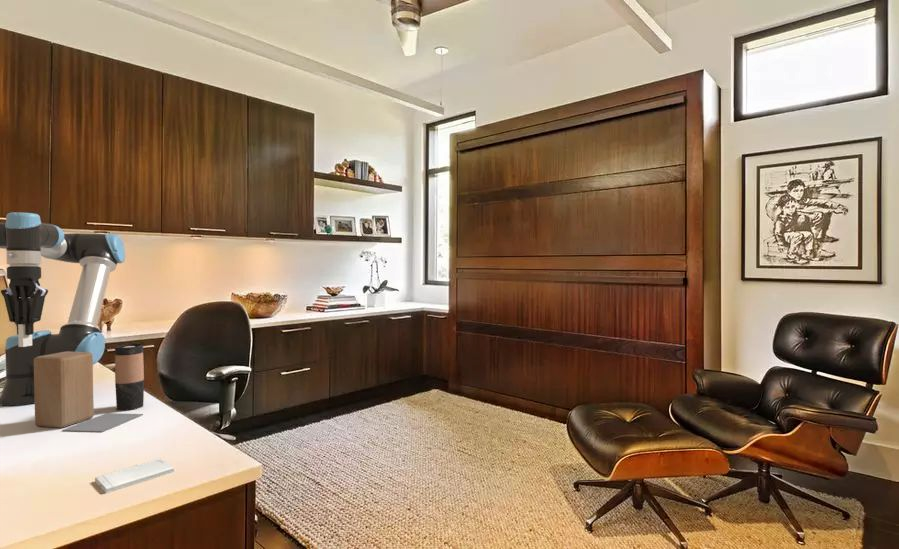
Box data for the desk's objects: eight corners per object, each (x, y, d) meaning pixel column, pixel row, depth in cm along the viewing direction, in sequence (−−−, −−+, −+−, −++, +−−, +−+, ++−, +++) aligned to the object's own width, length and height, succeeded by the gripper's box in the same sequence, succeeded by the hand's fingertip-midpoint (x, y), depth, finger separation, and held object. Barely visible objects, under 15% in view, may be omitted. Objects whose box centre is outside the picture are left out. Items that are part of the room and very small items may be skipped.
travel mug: (150, 405, 153) (148, 344, 153) (127, 412, 146) (126, 348, 146) (133, 403, 156) (132, 343, 156) (109, 409, 149) (108, 347, 148)
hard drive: (160, 457, 108) (94, 476, 99) (174, 467, 103) (106, 488, 93) (160, 465, 108) (95, 484, 99) (174, 475, 103) (106, 496, 93)
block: (61, 429, 131) (60, 358, 131) (33, 427, 133) (31, 356, 133) (95, 417, 141) (94, 351, 140) (68, 416, 143) (67, 350, 142)
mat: (62, 431, 129) (62, 430, 129) (106, 414, 144) (106, 413, 144) (102, 432, 128) (102, 431, 128) (143, 415, 143) (143, 414, 143)
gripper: (-10, 265, 134) (-9, 348, 134) (31, 265, 133) (33, 348, 133) (16, 266, 141) (18, 343, 142) (56, 265, 140) (57, 344, 140)
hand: (25, 346), depth 137 cm, fingers closed
